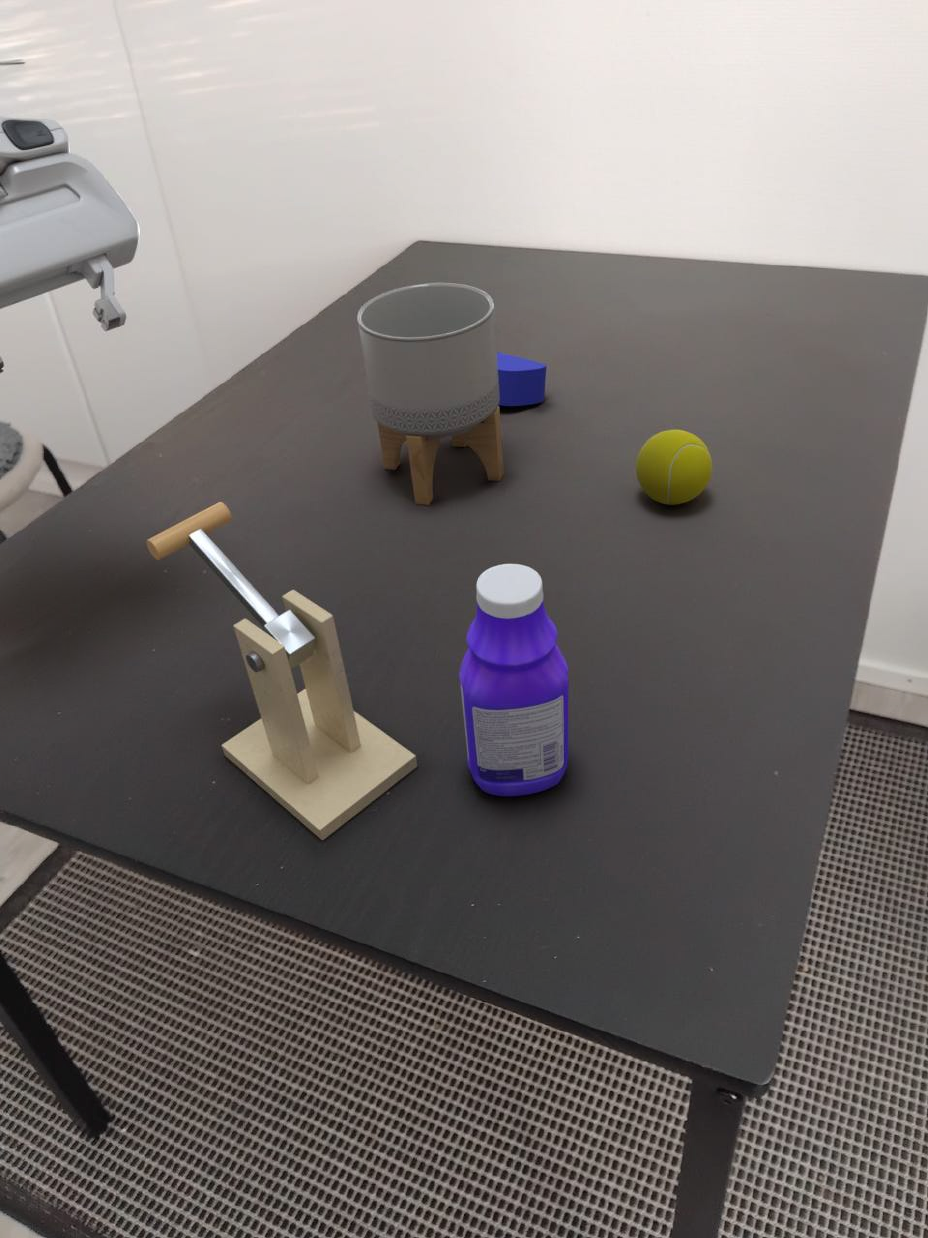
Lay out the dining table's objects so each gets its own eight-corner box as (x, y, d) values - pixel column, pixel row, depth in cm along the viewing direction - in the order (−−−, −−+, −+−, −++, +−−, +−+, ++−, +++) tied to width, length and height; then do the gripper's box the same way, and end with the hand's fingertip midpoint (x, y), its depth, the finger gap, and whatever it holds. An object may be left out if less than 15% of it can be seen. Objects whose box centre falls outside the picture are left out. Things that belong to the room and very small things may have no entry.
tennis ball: (723, 502, 95) (729, 438, 91) (665, 526, 93) (669, 462, 88) (677, 471, 100) (681, 409, 95) (621, 493, 98) (622, 431, 93)
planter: (482, 511, 97) (468, 342, 86) (363, 497, 101) (334, 333, 90) (518, 446, 106) (510, 285, 95) (408, 435, 110) (387, 279, 99)
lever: (146, 552, 68) (145, 532, 66) (218, 514, 71) (219, 493, 69) (264, 687, 65) (266, 670, 63) (334, 641, 68) (338, 623, 66)
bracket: (224, 755, 74) (176, 616, 66) (317, 692, 79) (283, 554, 70) (322, 841, 67) (282, 698, 59) (417, 766, 72) (394, 623, 63)
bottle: (561, 735, 73) (556, 546, 62) (576, 794, 69) (575, 602, 58) (464, 749, 73) (443, 562, 62) (474, 809, 68) (453, 618, 57)
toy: (450, 390, 121) (435, 415, 113) (452, 345, 118) (436, 367, 110) (547, 399, 119) (538, 424, 111) (551, 353, 116) (542, 376, 108)
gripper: (-222, 193, 60) (-92, 382, 61) (78, 114, 71) (187, 276, 71) (-206, 252, 66) (-87, 424, 66) (70, 171, 76) (171, 321, 77)
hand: (57, 347), depth 69 cm, fingers open, 8 cm apart
